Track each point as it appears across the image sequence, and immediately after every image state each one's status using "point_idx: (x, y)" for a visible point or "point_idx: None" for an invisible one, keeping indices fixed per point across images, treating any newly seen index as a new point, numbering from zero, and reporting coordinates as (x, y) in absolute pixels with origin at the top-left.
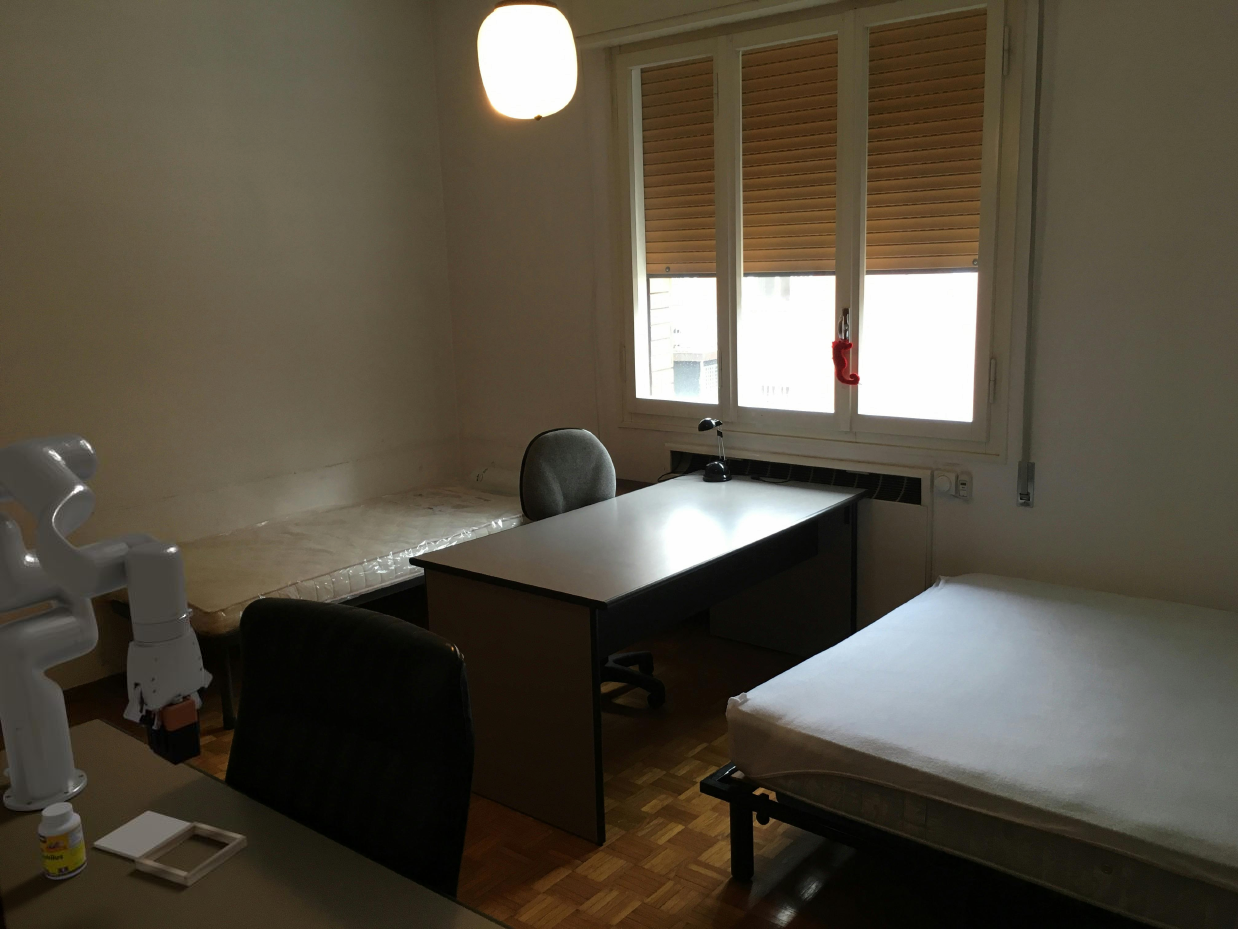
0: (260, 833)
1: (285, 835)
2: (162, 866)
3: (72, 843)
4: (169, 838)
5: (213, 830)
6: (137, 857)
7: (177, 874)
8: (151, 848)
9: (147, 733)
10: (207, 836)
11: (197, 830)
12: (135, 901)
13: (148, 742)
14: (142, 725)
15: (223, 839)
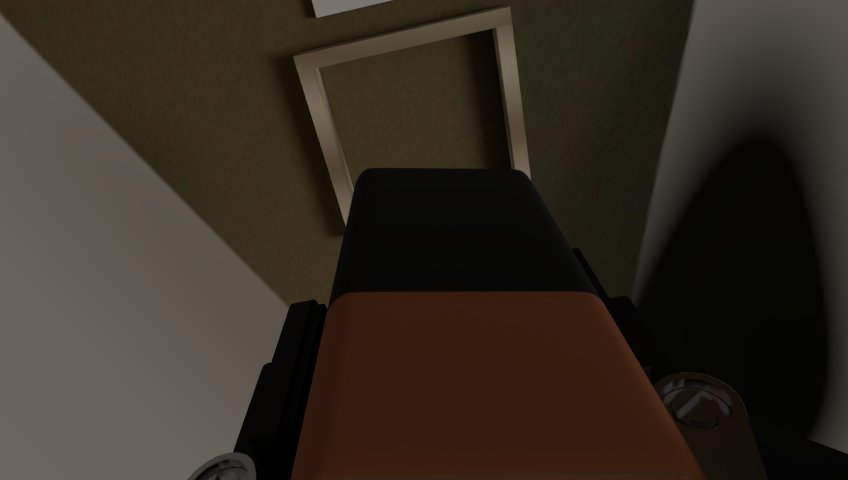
0: (581, 178)
1: (603, 235)
2: (331, 154)
3: None
4: (411, 32)
5: (508, 107)
6: (316, 14)
7: (342, 213)
8: (363, 6)
9: (243, 434)
10: (499, 76)
11: (495, 36)
12: (245, 186)
13: (260, 379)
14: (196, 475)
15: (508, 140)
